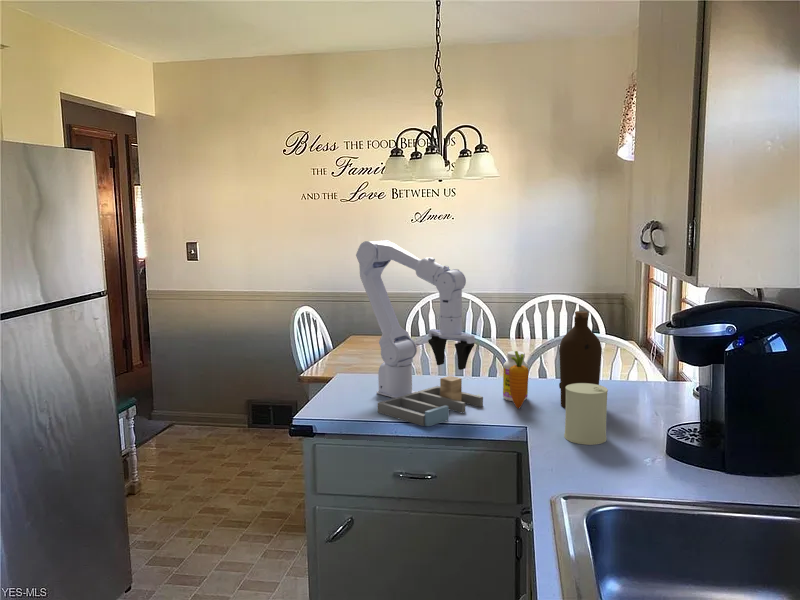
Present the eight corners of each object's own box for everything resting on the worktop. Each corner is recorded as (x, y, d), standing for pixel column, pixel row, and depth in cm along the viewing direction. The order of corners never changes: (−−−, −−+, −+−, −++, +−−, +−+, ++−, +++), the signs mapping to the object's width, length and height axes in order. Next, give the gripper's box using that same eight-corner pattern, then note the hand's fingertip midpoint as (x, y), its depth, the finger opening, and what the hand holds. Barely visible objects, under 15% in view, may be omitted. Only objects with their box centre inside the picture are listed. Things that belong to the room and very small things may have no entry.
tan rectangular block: (440, 404, 176) (440, 378, 175) (450, 400, 179) (450, 375, 178) (451, 407, 173) (451, 381, 172) (461, 403, 176) (461, 378, 175)
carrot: (527, 411, 168) (528, 354, 166) (508, 410, 169) (508, 353, 167) (528, 406, 173) (528, 350, 171) (508, 405, 174) (509, 349, 172)
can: (600, 447, 142) (601, 393, 140) (558, 440, 147) (559, 388, 145) (611, 435, 150) (612, 384, 148) (571, 428, 155) (572, 379, 153)
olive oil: (608, 407, 171) (611, 312, 168) (580, 414, 165) (583, 316, 162) (577, 398, 180) (579, 307, 177) (549, 404, 174) (551, 311, 171)
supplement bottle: (500, 400, 178) (500, 354, 176) (506, 394, 184) (506, 349, 183) (525, 403, 176) (525, 356, 174) (529, 396, 182) (530, 351, 180)
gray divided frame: (377, 412, 169) (377, 398, 169) (437, 394, 185) (437, 382, 184) (426, 427, 157) (426, 413, 156) (486, 407, 172) (486, 394, 172)
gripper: (420, 315, 175) (420, 364, 177) (462, 320, 165) (462, 373, 166) (438, 312, 180) (438, 360, 182) (479, 317, 170) (479, 369, 171)
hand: (450, 366), depth 174 cm, fingers open, 7 cm apart
